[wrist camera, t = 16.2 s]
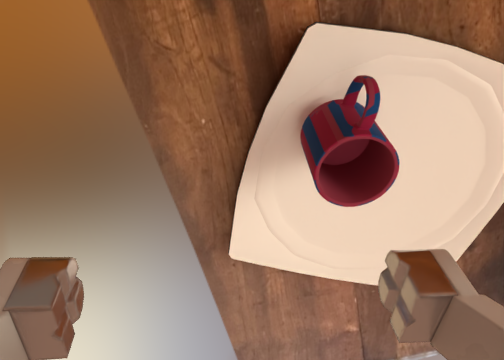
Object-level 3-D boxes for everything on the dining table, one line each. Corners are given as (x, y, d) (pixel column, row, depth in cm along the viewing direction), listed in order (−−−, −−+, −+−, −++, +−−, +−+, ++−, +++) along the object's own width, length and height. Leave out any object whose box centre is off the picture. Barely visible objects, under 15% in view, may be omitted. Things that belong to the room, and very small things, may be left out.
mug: (291, 157, 39) (303, 200, 33) (325, 54, 33) (346, 83, 28) (357, 169, 40) (379, 212, 34) (400, 70, 35) (434, 102, 29)
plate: (295, -7, 33) (300, -1, 31) (576, 81, 39) (597, 91, 37) (213, 247, 48) (213, 264, 46) (426, 284, 54) (435, 300, 52)
